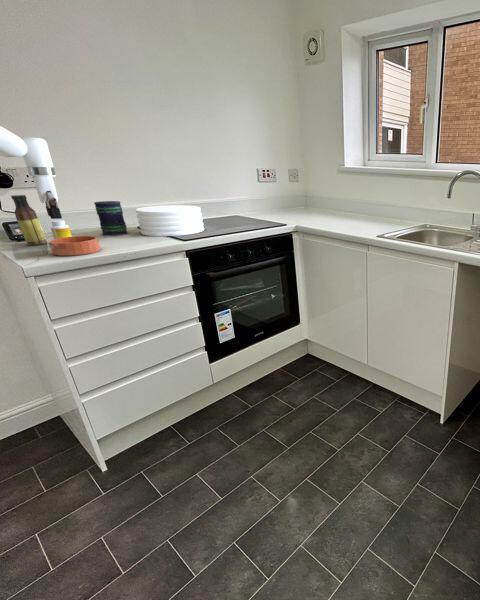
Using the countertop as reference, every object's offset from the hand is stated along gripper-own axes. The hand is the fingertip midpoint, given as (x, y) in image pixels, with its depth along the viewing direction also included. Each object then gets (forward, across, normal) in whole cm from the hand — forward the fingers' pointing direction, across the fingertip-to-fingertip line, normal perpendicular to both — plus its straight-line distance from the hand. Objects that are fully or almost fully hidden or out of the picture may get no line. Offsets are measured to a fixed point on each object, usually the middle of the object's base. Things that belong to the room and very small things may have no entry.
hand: (55, 217), depth 141 cm
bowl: (+12, +16, +3) cm, 20 cm away
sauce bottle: (+12, -10, -7) cm, 17 cm away
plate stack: (+11, -10, +44) cm, 46 cm away
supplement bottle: (+12, 0, +1) cm, 12 cm away
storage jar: (+12, -18, +21) cm, 30 cm away
